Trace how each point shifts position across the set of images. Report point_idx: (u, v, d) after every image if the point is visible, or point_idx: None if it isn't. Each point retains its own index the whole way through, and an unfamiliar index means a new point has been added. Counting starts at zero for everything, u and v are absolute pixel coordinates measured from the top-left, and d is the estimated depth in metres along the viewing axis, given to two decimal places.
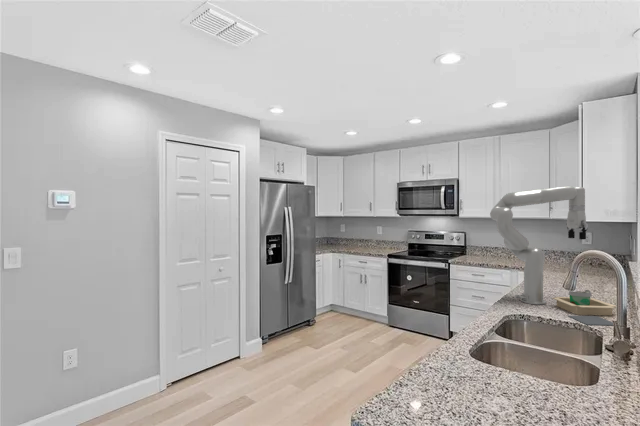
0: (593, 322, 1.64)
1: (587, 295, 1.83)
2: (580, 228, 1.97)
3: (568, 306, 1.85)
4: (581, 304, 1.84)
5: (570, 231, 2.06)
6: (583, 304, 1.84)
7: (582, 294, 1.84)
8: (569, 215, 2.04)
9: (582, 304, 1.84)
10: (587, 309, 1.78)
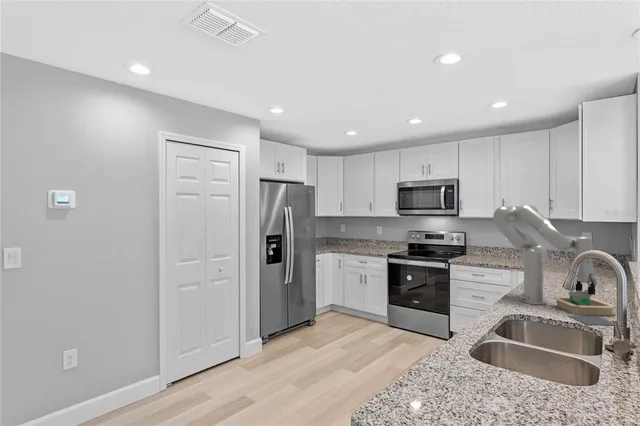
0: (593, 322, 1.64)
1: (587, 295, 1.83)
2: (588, 282, 1.81)
3: (568, 306, 1.85)
4: (581, 304, 1.84)
5: (577, 283, 1.90)
6: (583, 304, 1.84)
7: (582, 294, 1.84)
8: None
9: (582, 304, 1.84)
10: (587, 309, 1.78)
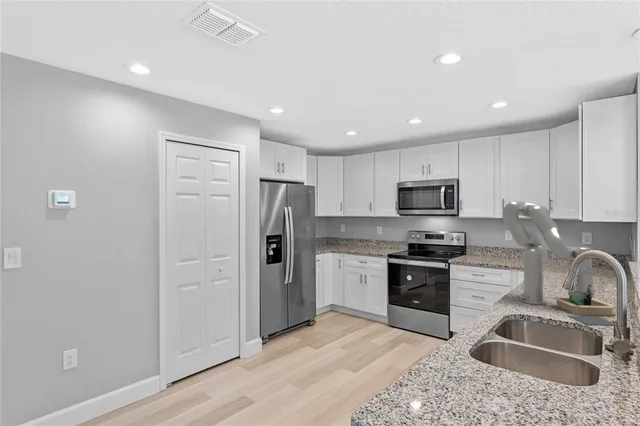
0: (593, 322, 1.64)
1: None
2: (585, 294, 1.82)
3: (568, 306, 1.85)
4: (580, 304, 1.84)
5: None
6: (582, 304, 1.84)
7: (581, 294, 1.84)
8: None
9: (581, 304, 1.84)
10: (587, 309, 1.78)
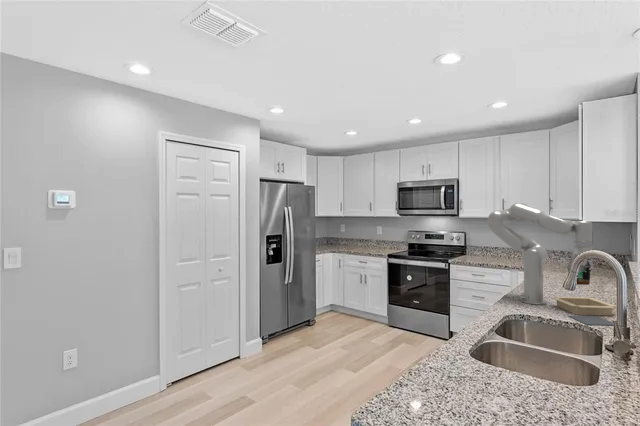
0: (593, 322, 1.64)
1: None
2: (584, 268, 1.83)
3: (568, 306, 1.85)
4: (579, 277, 1.84)
5: None
6: (581, 277, 1.84)
7: (580, 267, 1.84)
8: (574, 250, 1.89)
9: (580, 277, 1.84)
10: (587, 309, 1.78)
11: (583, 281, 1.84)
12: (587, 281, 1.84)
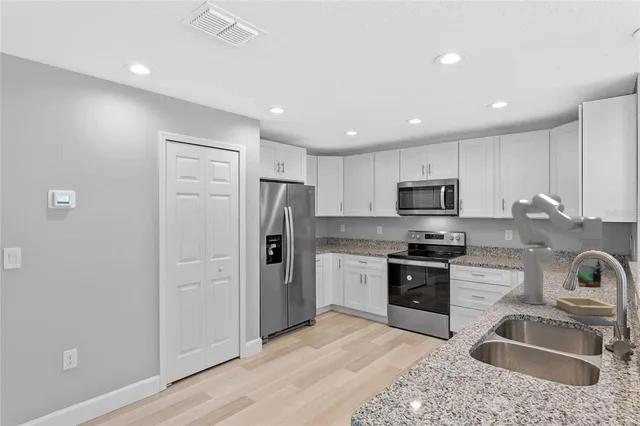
0: (593, 322, 1.64)
1: (596, 269, 1.65)
2: (595, 269, 1.64)
3: (568, 306, 1.85)
4: (589, 279, 1.66)
5: None
6: (591, 279, 1.66)
7: (590, 268, 1.65)
8: (583, 250, 1.70)
9: (591, 279, 1.66)
10: (587, 309, 1.78)
11: (593, 284, 1.65)
12: (598, 283, 1.65)
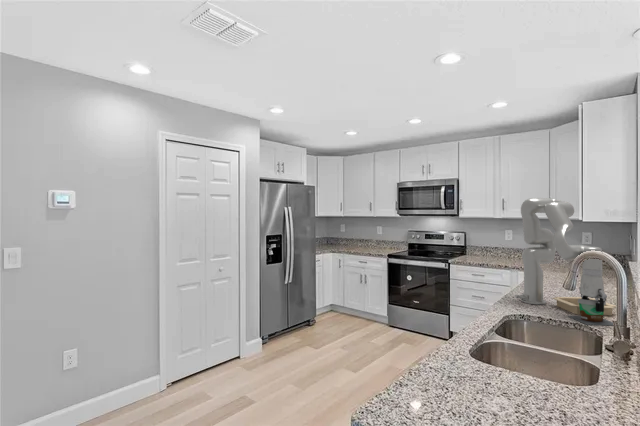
0: (593, 322, 1.64)
1: None
2: (597, 298, 1.63)
3: (568, 306, 1.85)
4: (592, 313, 1.65)
5: (584, 298, 1.72)
6: (594, 313, 1.65)
7: (592, 302, 1.64)
8: (583, 279, 1.70)
9: (593, 313, 1.65)
10: None
11: (595, 318, 1.64)
12: (600, 318, 1.64)
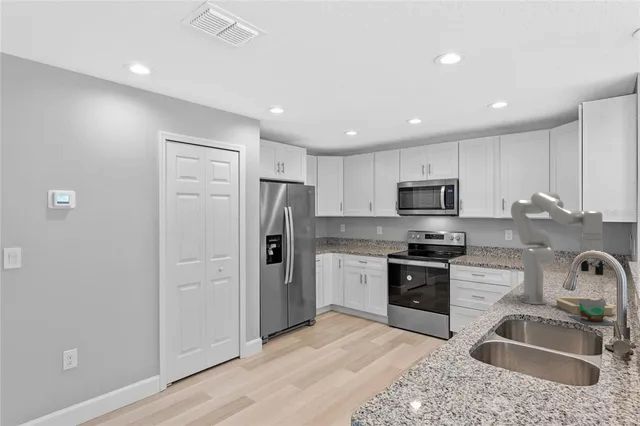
0: (593, 322, 1.64)
1: (599, 304, 1.63)
2: (596, 261, 1.63)
3: (568, 306, 1.85)
4: (592, 314, 1.65)
5: (583, 263, 1.73)
6: (594, 314, 1.64)
7: (593, 303, 1.64)
8: (583, 244, 1.70)
9: (593, 314, 1.64)
10: None
11: (595, 318, 1.64)
12: (600, 318, 1.64)
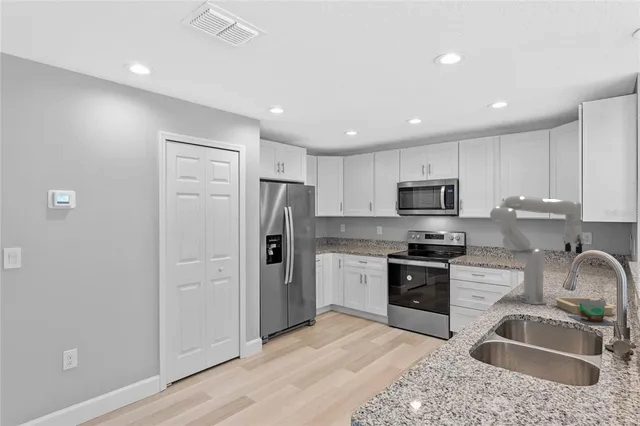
0: (593, 322, 1.64)
1: (599, 304, 1.63)
2: (576, 242, 2.02)
3: (568, 306, 1.85)
4: (592, 314, 1.65)
5: (567, 245, 2.11)
6: (594, 314, 1.64)
7: (593, 303, 1.64)
8: (566, 229, 2.09)
9: (593, 314, 1.64)
10: None
11: (595, 318, 1.64)
12: (600, 318, 1.64)
